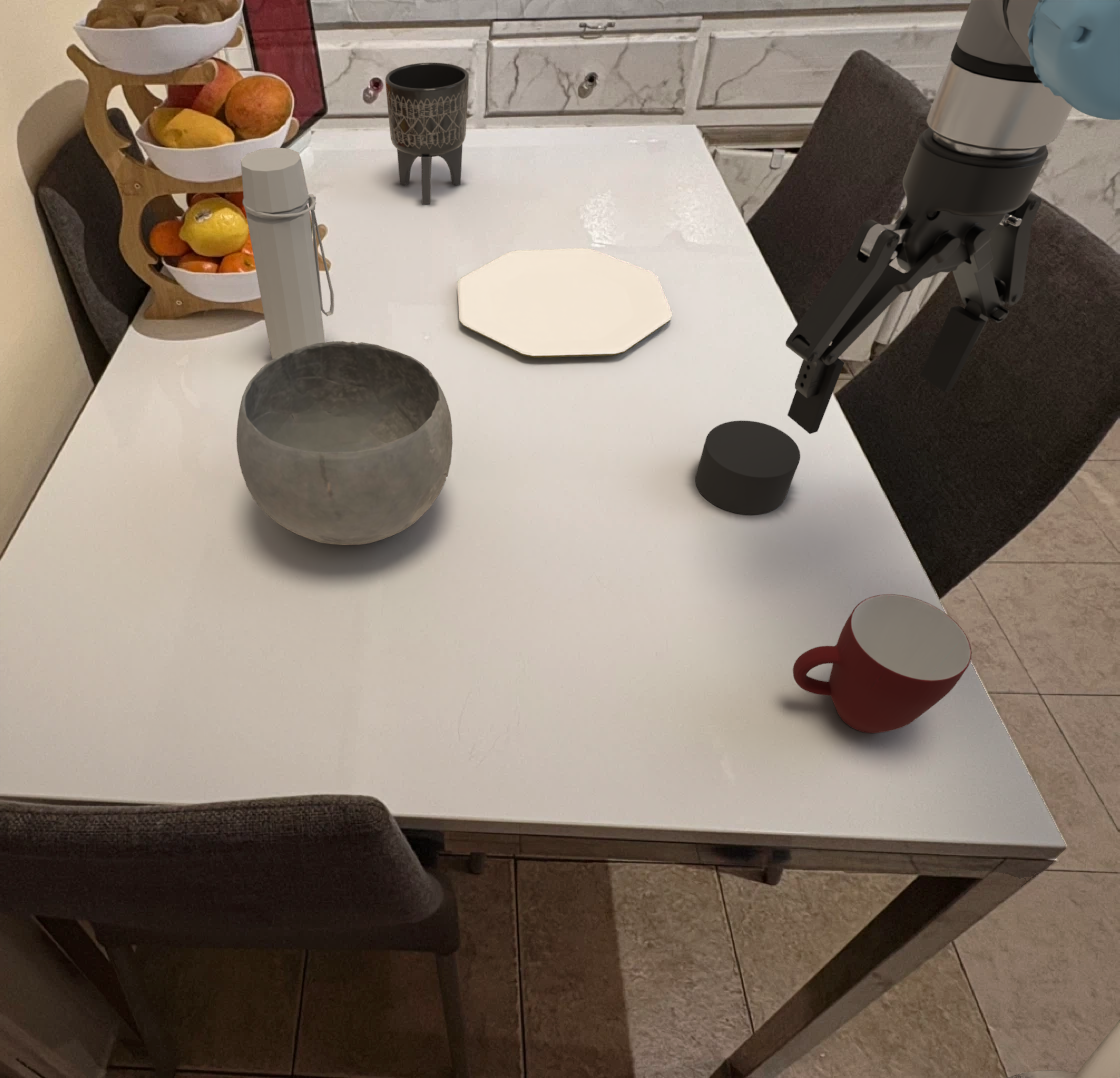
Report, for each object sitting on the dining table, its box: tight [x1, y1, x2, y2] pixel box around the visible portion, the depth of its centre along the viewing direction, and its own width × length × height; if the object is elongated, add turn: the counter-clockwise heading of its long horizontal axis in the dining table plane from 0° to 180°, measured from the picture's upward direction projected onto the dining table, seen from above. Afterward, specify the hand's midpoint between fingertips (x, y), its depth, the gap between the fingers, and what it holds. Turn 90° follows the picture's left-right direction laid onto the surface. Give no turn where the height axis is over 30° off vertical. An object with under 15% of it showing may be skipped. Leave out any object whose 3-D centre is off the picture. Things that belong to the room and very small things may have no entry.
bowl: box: [236, 340, 454, 546], centre depth 82 cm, size 20×20×15 cm
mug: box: [792, 593, 973, 734], centre depth 64 cm, size 10×8×10 cm
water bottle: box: [240, 147, 335, 361], centre depth 99 cm, size 9×8×25 cm
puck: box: [695, 420, 801, 516], centre depth 86 cm, size 9×9×5 cm
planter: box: [384, 62, 470, 205], centre depth 136 cm, size 13×13×18 cm
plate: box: [456, 247, 673, 359], centre depth 113 cm, size 28×28×2 cm
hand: (869, 403), depth 70 cm, fingers open, 13 cm apart
